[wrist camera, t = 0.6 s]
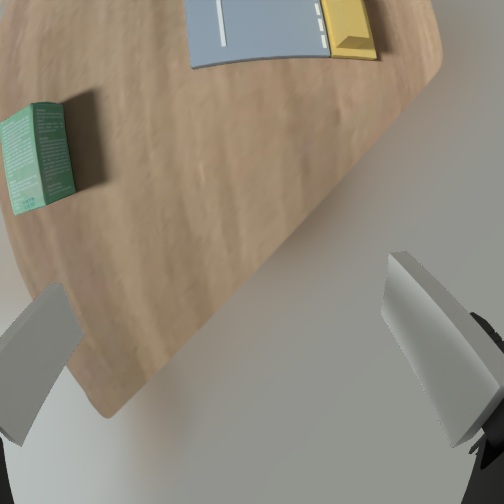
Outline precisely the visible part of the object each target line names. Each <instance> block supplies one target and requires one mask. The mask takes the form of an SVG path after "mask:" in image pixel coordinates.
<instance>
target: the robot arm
mask: <svg viewBox="0 0 504 504" xmlns="http://www.w3.org/2000/svg"><path fill="white" fill-rule="evenodd" d="M381 315H382V317H383V318H384V320H385V322H386V323H387V325H388V327H389V328H390V330H391V332H392V334H393V335H394V337H395V338H396V340H397V342H398V344H399V346H400V347H401V349H402V351H403V352H404V354H405V356H406V358H407V360H408V361H409V363H410V365H411V367H412V369H413V371H414V372H415V374H416V376H417V378H418V380H419V382H420V384H421V386H422V387H423V389H424V391H425V393H426V395H427V397H428V399H429V401H430V403H431V405H432V407H433V409H434V411H435V413H436V415H437V417H438V419H439V421H440V424H441V426H442V428H443V430H444V432H445V434H446V436H447V439H448V441H449V443H450V445H451V448H454V447H456V446H458V445H460V444H462V443H464V442H466V441H468V440H469V439H471V438H472V437H473V436H474V435H475V434H476V433H477V432H478V430H479V429H480V428H481V427H482V429H483V431H484V432H485V433H484V434H483V436H482V437H481V438H480V439H479V440H478V441H477V442H476V443H475V444H474V446H472V447H471V449H470V451H469V454H472V453H473V452H474V451H475V450H476V449H477V448H478V447H479V449H478V452H477V453H476V455H477V457H476V460H475V464H474V467H473V470H472V474H471V477H470V480H469V483H468V486H467V489H466V492H465V494H464V497H463V500H462V502H461V504H504V341H502V338H501V337H500V336H499V334H498V333H497V332H496V333H495V330H494V329H493V328H492V327H491V325H490V324H489V323H488V322H487V321H486V320H485V319H483V318H482V317H480V316H478V315H477V314H475V313H474V312H472V313H468V312H467V311H466V309H465V308H464V307H463V306H462V305H461V304H460V303H459V302H458V301H457V300H456V299H455V298H454V297H453V296H452V295H451V294H450V293H449V292H448V291H447V290H446V289H445V287H444V286H443V285H441V284H440V282H438V281H437V280H436V279H435V278H434V277H433V276H432V275H431V274H430V273H429V272H428V271H427V270H426V269H425V268H424V267H423V266H422V265H421V264H420V263H419V262H418V261H417V260H416V259H415V258H413V257H412V256H411V255H410V254H409V253H408V252H407V251H403V252H394V253H389V260H388V269H387V277H386V284H385V291H384V297H383V303H382V309H381ZM83 336H84V332H83V330H82V328H81V326H80V324H79V322H78V320H77V318H76V315H75V313H74V311H73V309H72V306H71V304H70V302H69V300H68V297H67V295H66V292H65V290H64V287H63V285H62V283H54V284H49V285H48V286H47V287H46V288H45V289H44V290H43V291H42V292H41V293H40V294H39V295H38V296H37V297H36V298H35V300H34V301H33V302H32V303H31V304H30V305H29V306H28V307H27V308H26V309H25V310H24V311H23V312H22V313H21V314H20V315H19V317H18V318H17V319H16V320H15V321H14V322H13V323H12V325H11V326H10V327H9V328H8V329H7V330H6V331H5V332H4V334H3V335H2V336H1V337H0V432H1V433H3V435H4V436H5V437H6V438H7V439H8V440H9V441H11V442H13V443H15V444H17V445H19V446H21V447H22V445H23V442H24V440H25V438H26V436H27V434H28V432H29V430H30V428H31V426H32V424H33V422H34V420H35V418H36V416H37V414H38V412H39V410H40V408H41V406H42V404H43V403H44V401H45V399H46V397H47V395H48V394H49V392H50V390H51V388H52V386H53V385H54V383H55V381H56V380H57V378H58V376H59V374H60V373H61V371H62V369H63V367H64V366H65V364H66V363H67V361H68V360H69V358H70V356H71V355H72V353H73V351H74V350H75V348H76V347H77V345H78V344H79V342H80V340H81V339H82V337H83ZM0 504H14V501H13V497H12V493H11V488H10V484H9V479H8V474H7V468H6V462H5V456H4V448H3V442H2V439H1V437H0Z"/></svg>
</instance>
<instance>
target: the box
mask: <svg viewBox="0 0 504 504" xmlns="http://www.w3.org/2000/svg"><path fill="white" fill-rule="evenodd" d="M0 134H1V144H2V152H3V159H4V167H5V173H6V179H7V184H8V190H9V195H10V200H11V204H12V209H13V212H14V216H15V215H18V214H21V213H24V212H27V211H30V210H34V209H37V208H40V207H44V206H46V205H48V204H50V203H53V202H55V201H58V200H60V199H62V198H65V197H67V196H70V195H72V194H75V193H76V190H75V185H74V179H73V173H72V168H71V161H70V156H69V150H68V143H67V136H66V129H65V121H64V110H63V105H60V104H57V103H52V102H38V103H32V104H30V105H28V106H27V107H25V108H24V109H22V110H20V111H19V112H17V113H15V114H14V115H12V116H11V117H9V118H8V119H6V120H5V121H3V122H2V123H1V125H0Z"/></svg>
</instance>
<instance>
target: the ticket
mask: <svg viewBox="0 0 504 504" xmlns="http://www.w3.org/2000/svg"><path fill="white" fill-rule="evenodd" d="M185 12H186V23H187V34H188V44H189V53H190V62H191V68H192V69H198V68H204V67H209V66H216V65H222V64H229V63H237V62H245V61H255V60H267V59H283V58H328V57H329V56H330V51H329V45H328V39H327V34H326V29H325V24H324V19H323V14H322V10H321V5H320V1H319V0H185Z"/></svg>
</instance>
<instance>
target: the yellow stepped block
mask: <svg viewBox="0 0 504 504" xmlns="http://www.w3.org/2000/svg"><path fill="white" fill-rule="evenodd" d="M319 1H320V5H321V9H322V14H323V18H324V23H325V28H326V33H327V39H328V44H329V50H330V56H331V58H352V59H364V60H374V59H376V52H375V47H374V42H373V37H372V32H371V28H370V23H369V19H368V15H367V11H366V7H365V3H364V0H319Z"/></svg>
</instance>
